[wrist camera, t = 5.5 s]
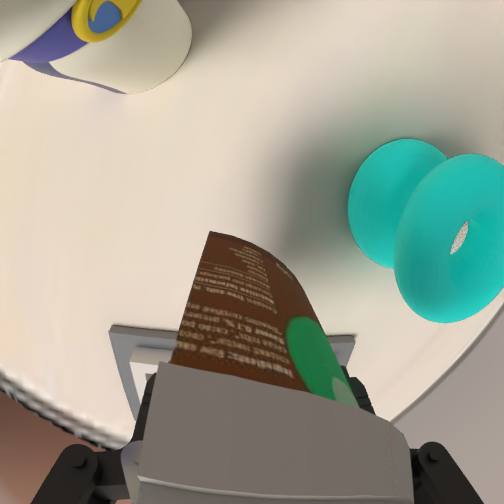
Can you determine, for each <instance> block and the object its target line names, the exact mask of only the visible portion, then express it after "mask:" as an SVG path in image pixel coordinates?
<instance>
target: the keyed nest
mask: <svg viewBox="0 0 504 504" xmlns="http://www.w3.org/2000/svg"><path fill="white" fill-rule="evenodd" d="M177 335H178V332H170V331H159V330H149V329H139V328H130V327H122V326H114V325H112V326H111V328H110V330H109V336H110V340H111V344H112V348H113V352H114V356H115V359H116V363H117V367H118V370H119V374H120V377H121V380H122V384H123V387H124V390H125V393H126V396H127V399H128V402H129V405H130V408H131V411H132V414H133V417H134V420H136V421H137V417H138V413H139V409H140V405H141V403H142V402H141V401H142V398H143V395H144V390H145V386H146V383H147V381H148V380H149V379H150V377H151V376H152V375H153V374H154V373H155V372H156V373H157V369H158V364H159V361H162V362H166V363H168V362H169V361H170V360H171V356H172V352H173V349H174V345H175V342H176V338H177ZM326 337H327V339H328V341H329V343H330V345H331V347H332V350H333V352H334V354H335V356H336V358H337V360H338V362H339V364H340V365H344V366H345V367H346V366H347V363H348V361H349V358H350V356H351V353H352V350H353V348H354V345H355V340H354V338H353V336H326Z"/></svg>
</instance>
